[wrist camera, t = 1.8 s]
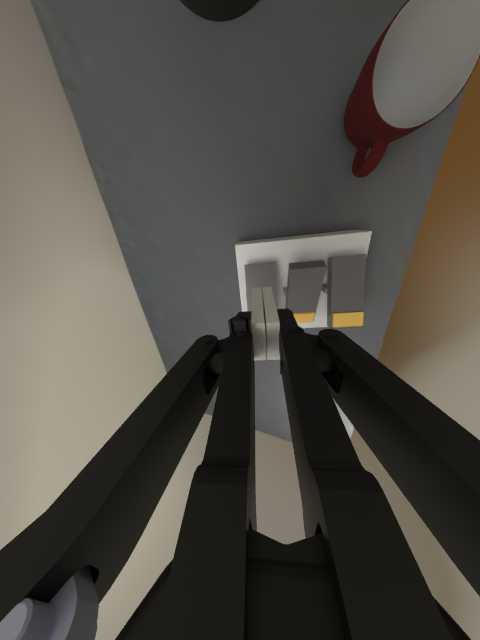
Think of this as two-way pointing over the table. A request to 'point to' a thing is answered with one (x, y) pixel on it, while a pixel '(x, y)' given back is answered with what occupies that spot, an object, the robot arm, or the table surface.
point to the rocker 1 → (260, 280)
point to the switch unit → (299, 251)
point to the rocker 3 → (346, 291)
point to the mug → (411, 74)
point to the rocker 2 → (304, 288)
